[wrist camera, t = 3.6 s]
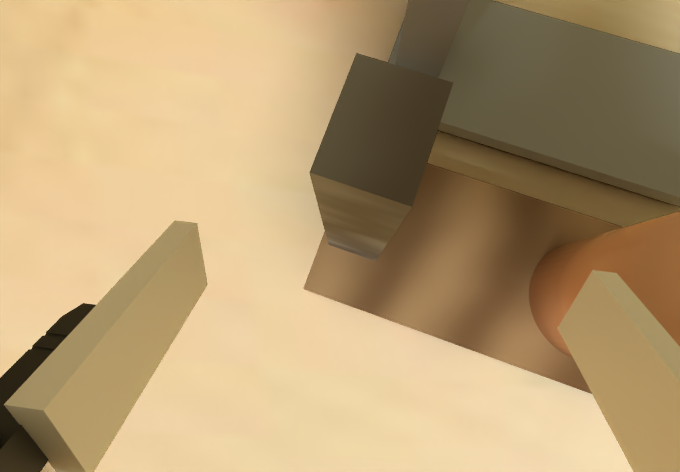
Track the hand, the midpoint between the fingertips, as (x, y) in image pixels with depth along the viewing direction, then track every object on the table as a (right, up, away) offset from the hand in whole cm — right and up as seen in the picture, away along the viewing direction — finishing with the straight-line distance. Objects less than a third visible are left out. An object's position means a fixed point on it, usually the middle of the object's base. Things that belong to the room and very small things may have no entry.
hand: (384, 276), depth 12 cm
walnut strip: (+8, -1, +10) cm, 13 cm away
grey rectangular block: (+12, +11, +12) cm, 21 cm away
